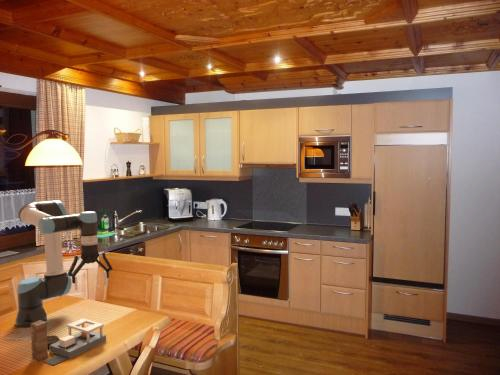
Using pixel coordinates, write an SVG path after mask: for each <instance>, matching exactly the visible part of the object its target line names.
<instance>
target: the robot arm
mask: <svg viewBox="0 0 500 375" xmlns="http://www.w3.org/2000/svg"><path fill="white" fill-rule="evenodd" d="M17 216H18V217H17V218H18V220H19V221H20V222H21V223H23V224H25V225H32V226H35V227H37V228H38V230H39V232H40V234H42V235H43V242H44V252H45V253H44V254H45V255H44V256H45V264H46V265H45V266H46V271H45V272H44V274H43V278H42V277H41V276H32V277H28V278H27V277H26V278H24V279H22V280H20V281H19V282H18V283H17V288H16V289H17V291H16V292H17V304H18V306H17V307H18V311H17V313H16V317H15V321H14V322H15V326H16V327H19V328H29V327H30V328H31V323H34V322H37V321H39V320H41V321H45V322H47V320H48V314H47V312H46V310H45V308H44V303H43V301H44V300H45V301H46V300H49V299H54V298H58V297H62V296H65V295H68V294H69V293H70V291H71V289H72V286H73V285H72V284H74V291H78V277H77V274H78V273H79V272H80V271H81V269H82V268H83V267H84V266H85V265H86V264H87V265H88V264H94V263H97V265H99V266H100V267H101V268H102V269H104V270H105V271H103V284H104V286H108V279H109V278H110V275H109V274H110V271H113V269H114V268H113V267H112V265H111V264H110V262H109V259H108V258H107V256H106V252H105V251H101V252H99V244H98V243H99V241H98V236H99V235H98V215H97V212H96V211H94V210H93V211H91V210H90V211H89V210H88V211H82V212H80V213H72V214H69V215H67V210H66V207H65V205H64V203H63V202H62V201H61V200H59V199H57V200H54V199H52V200H42V201H30V202H27V203H24V205H22V206H21V207H20V208H19V210H18V212H17ZM78 230H79V231H80V244H81V246H80V251H81V254H80V255H77V254H75V255H74V257H73V261H72V263H71V265H70V267H69V270H68V272H67V270H66V269H64V257H63V246H62V235H61V234H62V232H70V231H78ZM99 257H101V258H102V259H103V261H104V262H105V264H106V265H107V267H106V266H105V265H104V264H103V263H102V262H101V261H100V260H99ZM80 259H81V261H80V262H79V264H78V266H77V263H78V261H79V260H80ZM76 266H77V267H76Z"/></svg>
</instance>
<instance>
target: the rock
mask: <svg viewBox="0 0 500 375" xmlns="http://www.w3.org/2000/svg"><path fill="white" fill-rule="evenodd" d="M59 339H60V338H59V337H58V336H57V335H53V334H52V335H47V343H48V348H50V345H51V344H54V343H56V342H58V341H59Z"/></svg>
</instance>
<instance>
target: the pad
mask: <svg viewBox="0 0 500 375" xmlns="http://www.w3.org/2000/svg"><path fill="white" fill-rule="evenodd" d="M68 359H69V358H67V357H64V356H61V355H58V354H55V355H53V356H52V357H50V358H49V357H48V358H46V359H44V360H42V361H43V363H45V364H48V365H50V366H52V367H55V366H57V365H59V364H61V363H63V362H65V361H67V360H68Z"/></svg>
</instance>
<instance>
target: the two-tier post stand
mask: <svg viewBox="0 0 500 375" xmlns="http://www.w3.org/2000/svg"><path fill="white" fill-rule="evenodd" d="M85 324H90V325H87V326H88V327H86V328H82V327H84V326H85ZM104 326H105V325H104V323H100V322H97V321H93V320H91V319H87V318H81V319H77V320H75V321H73V322H70V323H68V324H66V328H68V335H70V336H73V337H75V343H74V344H72V345H70V346H68V347H62V346H60V345H59V341H58V342H56V343H54V344H51V345H50V347H49V352H50V353H53V354H55V355H61V356H64V357H67V358H68V359H72V358H75V357H77V356H79V355H81V354H82V353H85V352H87V351H89V350H90V349H93V348H95V347H97V346H99V345H101V344H102V343H103V344H104V343H106V342H107V335H106V334H104V333H103V332H104V331H103V327H104ZM98 329H99V332H97V331H96V330H98ZM72 330H76V331H79V332H77V333H75V334H73V335H72ZM81 331H82V332H86V333H87V337H82V333H81ZM89 333H90V335H89Z"/></svg>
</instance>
